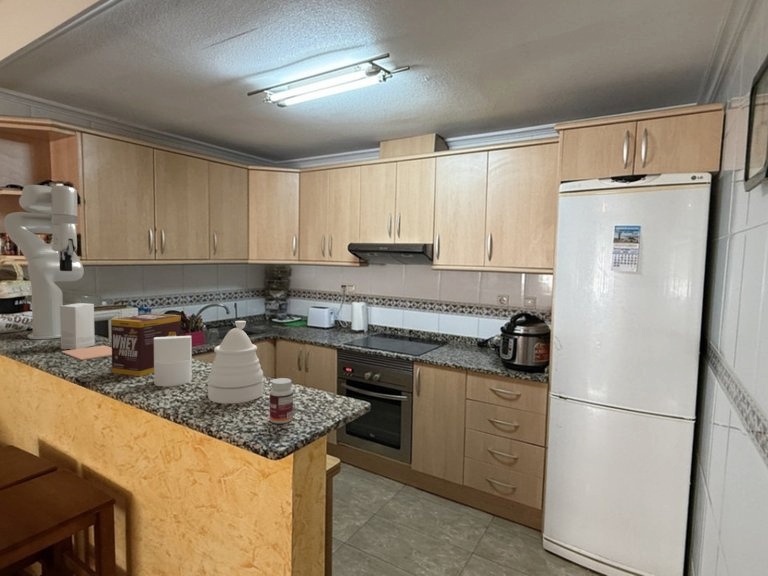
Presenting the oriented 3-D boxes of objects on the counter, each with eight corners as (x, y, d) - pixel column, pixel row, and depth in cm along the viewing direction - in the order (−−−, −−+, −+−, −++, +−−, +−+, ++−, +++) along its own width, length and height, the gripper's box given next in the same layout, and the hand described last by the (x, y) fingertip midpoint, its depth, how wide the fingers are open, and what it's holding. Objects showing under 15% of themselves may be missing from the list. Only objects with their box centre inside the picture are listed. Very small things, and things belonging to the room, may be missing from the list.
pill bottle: (266, 417, 88) (267, 379, 87) (288, 414, 90) (288, 376, 90) (273, 425, 84) (273, 385, 83) (295, 421, 86) (296, 382, 86)
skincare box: (80, 344, 153) (79, 302, 152) (96, 345, 152) (95, 303, 151) (59, 349, 144) (58, 305, 143) (76, 350, 143) (75, 305, 142)
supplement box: (110, 373, 118) (109, 318, 117) (155, 361, 132) (154, 312, 131) (139, 377, 115) (138, 321, 114) (181, 364, 129) (181, 314, 128)
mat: (61, 352, 140) (61, 351, 140) (104, 346, 151) (104, 345, 151) (81, 360, 130) (81, 359, 130) (126, 353, 141) (126, 352, 141)
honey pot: (226, 384, 110) (226, 317, 109) (271, 388, 108) (272, 320, 106) (196, 400, 97) (196, 325, 96) (247, 405, 95) (247, 328, 94)
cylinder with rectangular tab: (191, 375, 118) (191, 333, 117) (191, 384, 109) (191, 339, 109) (155, 378, 114) (155, 335, 113) (152, 387, 106) (152, 341, 105)
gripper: (44, 220, 152) (46, 270, 153) (60, 218, 143) (61, 271, 144) (69, 222, 158) (70, 270, 159) (85, 221, 149) (86, 271, 151)
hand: (66, 270), depth 152 cm, fingers closed
